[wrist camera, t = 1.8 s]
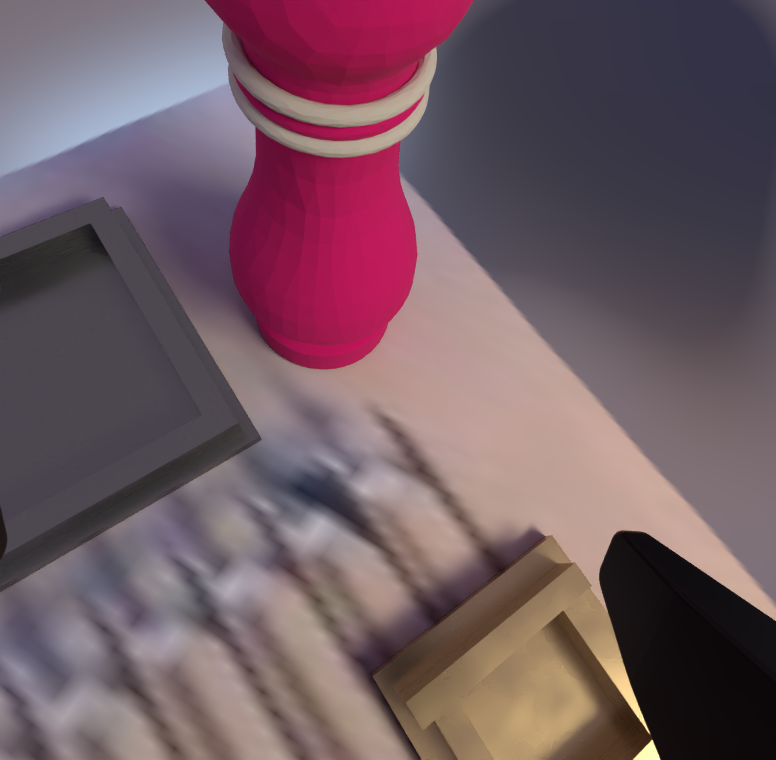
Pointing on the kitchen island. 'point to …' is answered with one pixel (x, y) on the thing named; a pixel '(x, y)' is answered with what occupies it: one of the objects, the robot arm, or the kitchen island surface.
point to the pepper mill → (328, 164)
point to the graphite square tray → (97, 386)
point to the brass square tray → (519, 673)
